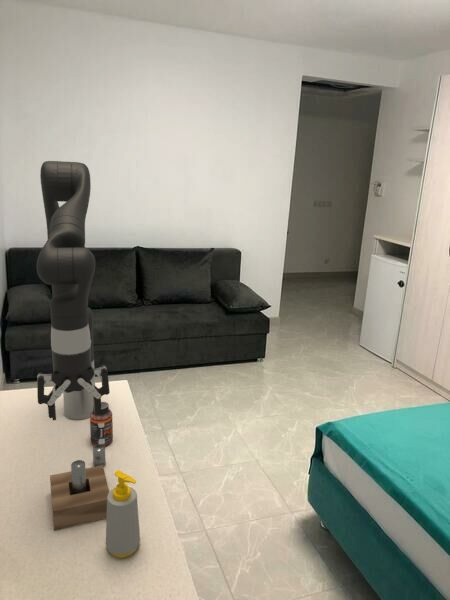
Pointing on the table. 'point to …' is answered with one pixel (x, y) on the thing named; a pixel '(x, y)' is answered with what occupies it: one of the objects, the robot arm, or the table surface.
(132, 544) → the soap bottle
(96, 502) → the guide block
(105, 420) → the supplement bottle
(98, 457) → the short pin
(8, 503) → the table surface
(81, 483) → the tall pin
